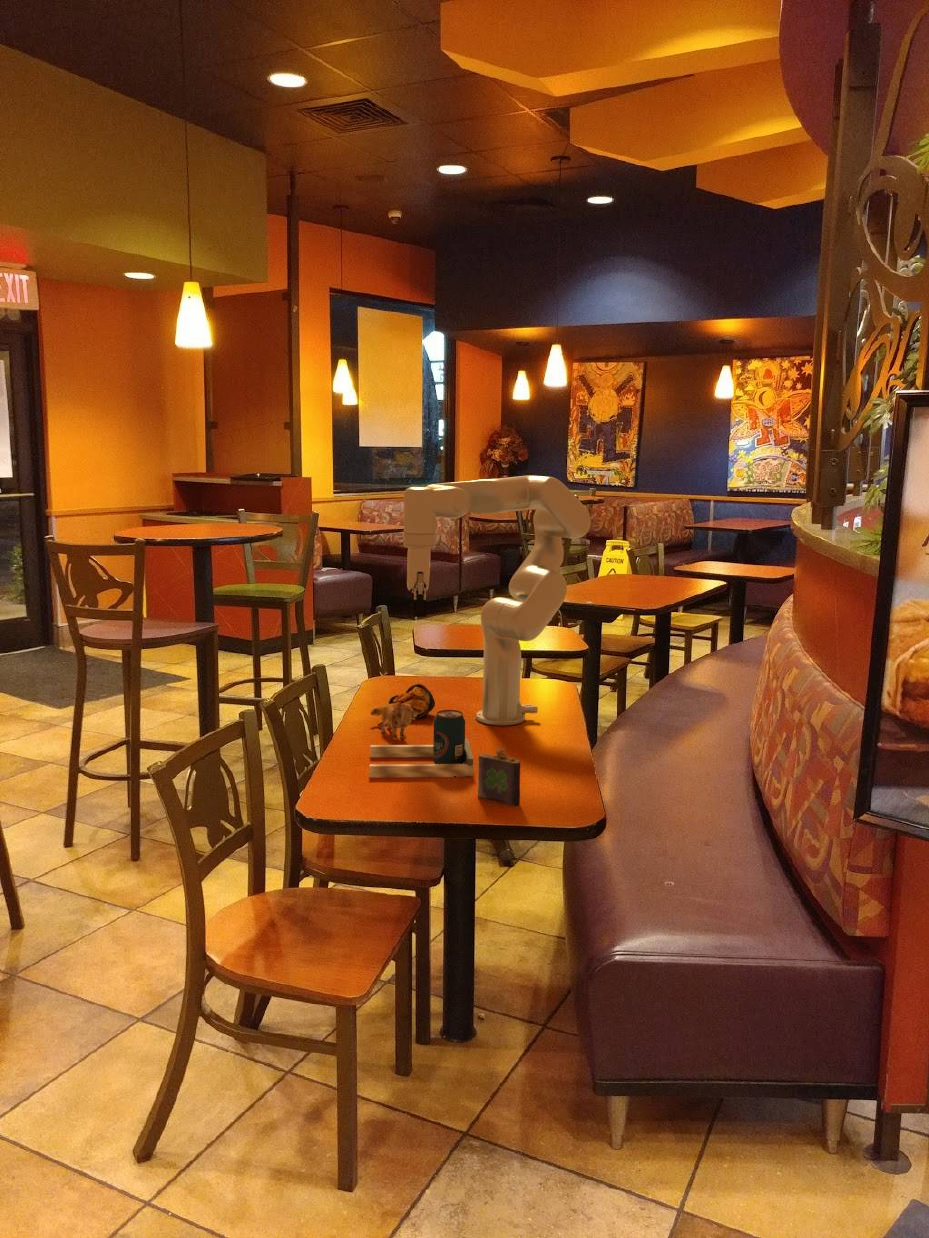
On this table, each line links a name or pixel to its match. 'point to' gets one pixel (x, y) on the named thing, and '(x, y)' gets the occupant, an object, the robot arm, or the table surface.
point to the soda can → (449, 737)
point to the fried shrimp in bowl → (412, 701)
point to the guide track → (417, 769)
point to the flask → (499, 778)
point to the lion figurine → (397, 718)
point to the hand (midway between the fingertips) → (418, 612)
